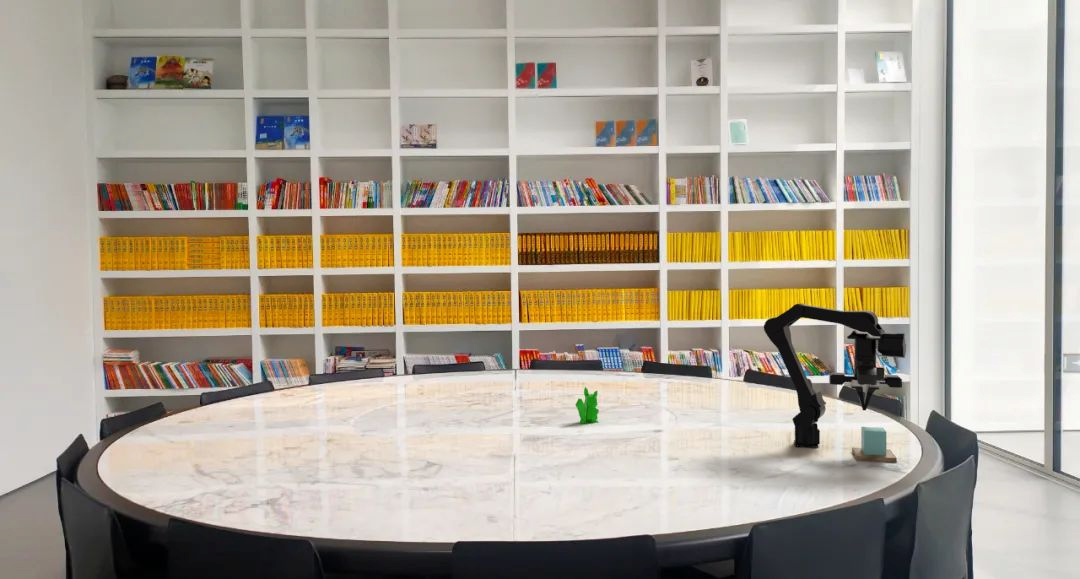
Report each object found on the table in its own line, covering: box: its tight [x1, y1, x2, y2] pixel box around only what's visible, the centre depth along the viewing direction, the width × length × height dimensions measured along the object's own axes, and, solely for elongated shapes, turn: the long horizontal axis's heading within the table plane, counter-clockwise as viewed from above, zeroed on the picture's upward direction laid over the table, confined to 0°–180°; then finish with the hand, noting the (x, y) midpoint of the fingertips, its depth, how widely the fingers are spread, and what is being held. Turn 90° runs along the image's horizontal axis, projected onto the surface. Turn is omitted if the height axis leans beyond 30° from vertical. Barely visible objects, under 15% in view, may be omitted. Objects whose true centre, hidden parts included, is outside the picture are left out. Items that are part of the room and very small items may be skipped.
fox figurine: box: [575, 386, 600, 425], centre depth 264 cm, size 6×10×12 cm, turn 134°
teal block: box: [860, 426, 887, 456], centre depth 213 cm, size 6×6×6 cm
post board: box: [851, 447, 898, 463], centre depth 213 cm, size 10×10×6 cm
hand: (864, 410), depth 220 cm, fingers closed
